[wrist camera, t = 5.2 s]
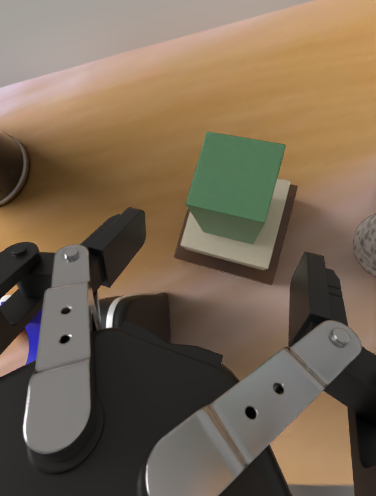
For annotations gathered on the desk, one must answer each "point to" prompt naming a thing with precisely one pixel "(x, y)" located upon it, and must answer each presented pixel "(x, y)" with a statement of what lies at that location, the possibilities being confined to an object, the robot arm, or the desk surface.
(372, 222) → the mug
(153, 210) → the desk surface
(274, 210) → the cream block
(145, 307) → the battery charger
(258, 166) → the green block
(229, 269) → the walnut base
